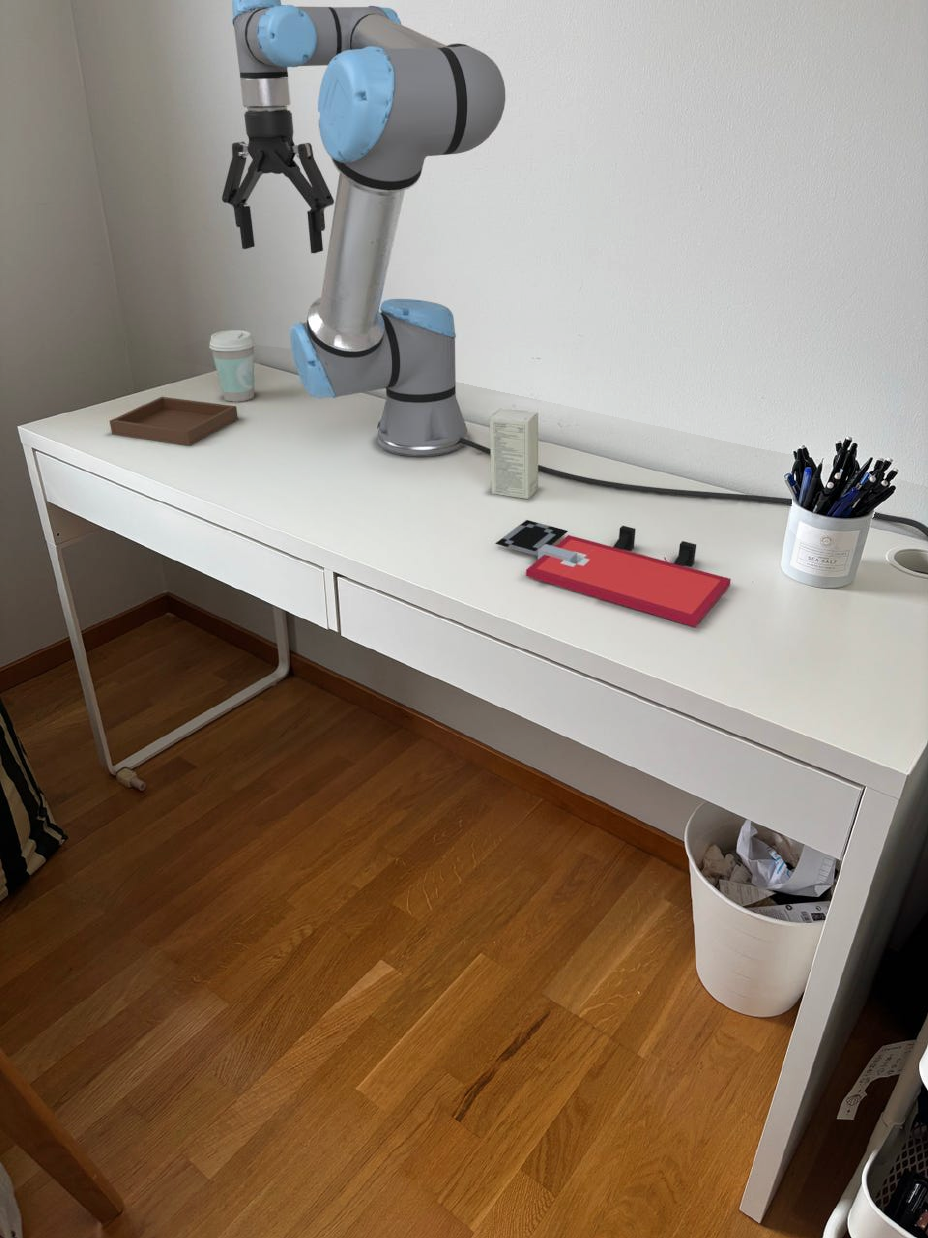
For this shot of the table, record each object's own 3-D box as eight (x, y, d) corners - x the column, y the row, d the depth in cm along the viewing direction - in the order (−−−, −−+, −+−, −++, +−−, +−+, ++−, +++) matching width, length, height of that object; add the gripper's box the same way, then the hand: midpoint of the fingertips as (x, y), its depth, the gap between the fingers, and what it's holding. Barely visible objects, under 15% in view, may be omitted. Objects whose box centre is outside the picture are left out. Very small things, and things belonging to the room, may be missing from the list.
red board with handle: (533, 520, 135) (475, 564, 124) (533, 502, 133) (475, 545, 123) (739, 576, 121) (694, 630, 110) (742, 556, 119) (697, 609, 109)
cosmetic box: (538, 489, 145) (540, 411, 139) (527, 500, 142) (529, 421, 135) (500, 483, 147) (500, 406, 141) (489, 493, 144) (488, 415, 138)
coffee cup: (240, 406, 181) (231, 342, 175) (207, 399, 185) (198, 337, 179) (270, 394, 188) (263, 332, 181) (238, 387, 192) (230, 327, 185)
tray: (238, 419, 175) (236, 406, 174) (189, 445, 164) (187, 431, 162) (164, 409, 181) (161, 396, 179) (112, 434, 169) (109, 420, 168)
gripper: (347, 108, 151) (357, 249, 162) (215, 107, 160) (233, 242, 170) (324, 110, 145) (335, 257, 156) (188, 109, 154) (208, 249, 164)
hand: (282, 249), depth 163 cm, fingers open, 13 cm apart
